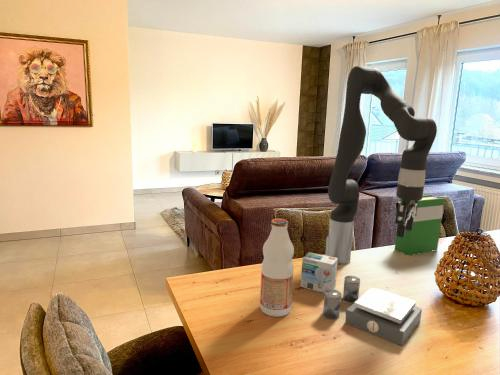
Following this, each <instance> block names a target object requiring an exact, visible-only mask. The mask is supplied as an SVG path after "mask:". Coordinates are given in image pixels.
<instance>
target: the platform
mask: <svg viewBox="0 0 500 375" xmlns="http://www.w3.org/2000/svg"><path fill="white" fill-rule="evenodd" d="M353 304H354V306H355V307H357V308H360V309H363V310H365V311H368V312H370V313H373V314H376V315H378V316H381V317H384V318H386V319H389V320H392V321H394V322H397V323H400V324H401V322H402V321H403V320H404V319H405V317H406V316H407V315H408V314H409V313H410V311H411V310H412V309H413V308H414V307H415V306H416V305H417V301H416V300H412V299H410V298H407V297H403V296H400V295H398V294H395V293H391V292H389V291H386V290H382V289H380V288H376V287H373V286H372V287H371V288H369V289H368V290H367V291H366V292H365V293H363V294H362V295H361V296H359V297H358V300H357V301H355V302H354V303H353Z"/></svg>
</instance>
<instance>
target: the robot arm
mask: <svg viewBox="0 0 500 375" xmlns="http://www.w3.org/2000/svg"><path fill="white" fill-rule="evenodd" d="M362 95H372V96H374V97H376V98H378V99H379V101H380V109H381V111H382V112H383V113H384V115H385V116H386V117H387V118H388V119H389V120H390V121H391V122H392V123H393V125H394V128H395V129H396V131H397V133H398V135H399V137H400V138H402V139H404V141H408V142H414V143H413V145H412V146H411V147H409V148H406V149H404V150H403V152H402V155H401V160H400V161H401V163H400V169H399V172H398V178H397V186H396V198H398V199H400V200H401V199H402V203H401V204H397V206H396V213H395V214H396V215H395V219H394V220H395V221H394V223H395V225H397V227H396V235H397V236H398V237H404V235H405V230H409V231H411V230H412V228H413V221H414V220H413V219H415V216H416V215H417V207H418V201H419V200H421V199H422V197H423V195H424V189H425V182H426V167H427V159H428V157H429V156H428V155H429V153H430V151H431V150H432V147H433V143H434V142H435V139H436V137H437V131H438V129H437V127H438V126H437V124H436V123H437V122H436V121H435V120H434V119H433V118H431V117H425V116H424V117H419V116H415V114H416V113H415V109H414V107H413V106H412V105H411V104H410V103H409V102H408V101H406V100H405V99H404V98H402V96H400V95H399V94H398V93H397V92H396V91H395V89H394V88H393V86H392V85H391V83H390V82H389V81H388V80H387V78H386V77H385V75H384V74H383V73H382V71H380V70H379V69H378V68H375V67H372V66H371V67H370V66H362V65H361V66H360V65H357V66H354V67H352V68H351V69H350V71H349V73H348V76H347V80H346V92H345V103H344V111H343V116H342V117H343V118H342V123H341V128H340V132H339V138H338V145H337V152H336V156H335V160H334V161H335V162H334V165H333V170H332V173H331V176H330V180H329V184H328V188H327V194H328V195H327V196H328V199H329V201H330V202H331V203H333V204H335V205H337V206H336V207H335V208H334V209H332V210H331V212H330V218H329V229H328V235H327V236H326V241H325V253H324V255H325V256H330V257H335V258H338V261H337V265H344V264H345V265H346V264H349V263H350V262H351V257H352V255H351V253H352V246H353V244H352V243H353V234H354V222H355V216H356V215H357V212H358V206H359V205H358V204H359V198H360V188H359V187H360V186H359V184H358V183H357V181H356V180H354V179H352V178H349V179H348V176H349V172H350V170H351V168H352V166H354V164H355V163H356V161H357V160H358V158H359V156H360V155H361V153H362V152H363V149H364V146H365V141H366V136H367V128H366V124H365V122H364V118H363V116H362V112H361V107H360V106H361V96H362ZM401 212H402V213H401ZM401 219H402V221H400V220H401ZM396 235H395V236H396Z"/></svg>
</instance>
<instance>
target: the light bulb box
mask: <svg viewBox="0 0 500 375" xmlns="http://www.w3.org/2000/svg"><path fill="white" fill-rule="evenodd" d="M301 261H302V262H301V277H300V287H301V288H305V289H308V290H312V291H316V292H319V293H322V294H325V291H326V290H328V289H334V290H335V288H336V284H337V283H336V282H337V271H338V264H337V261H338V258H335V257H330V256H325V254H322V253H321V254H320V253H314V252H311V251H308V252H307V253H306V254H305V255H304V256H303V257H302V259H301Z"/></svg>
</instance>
